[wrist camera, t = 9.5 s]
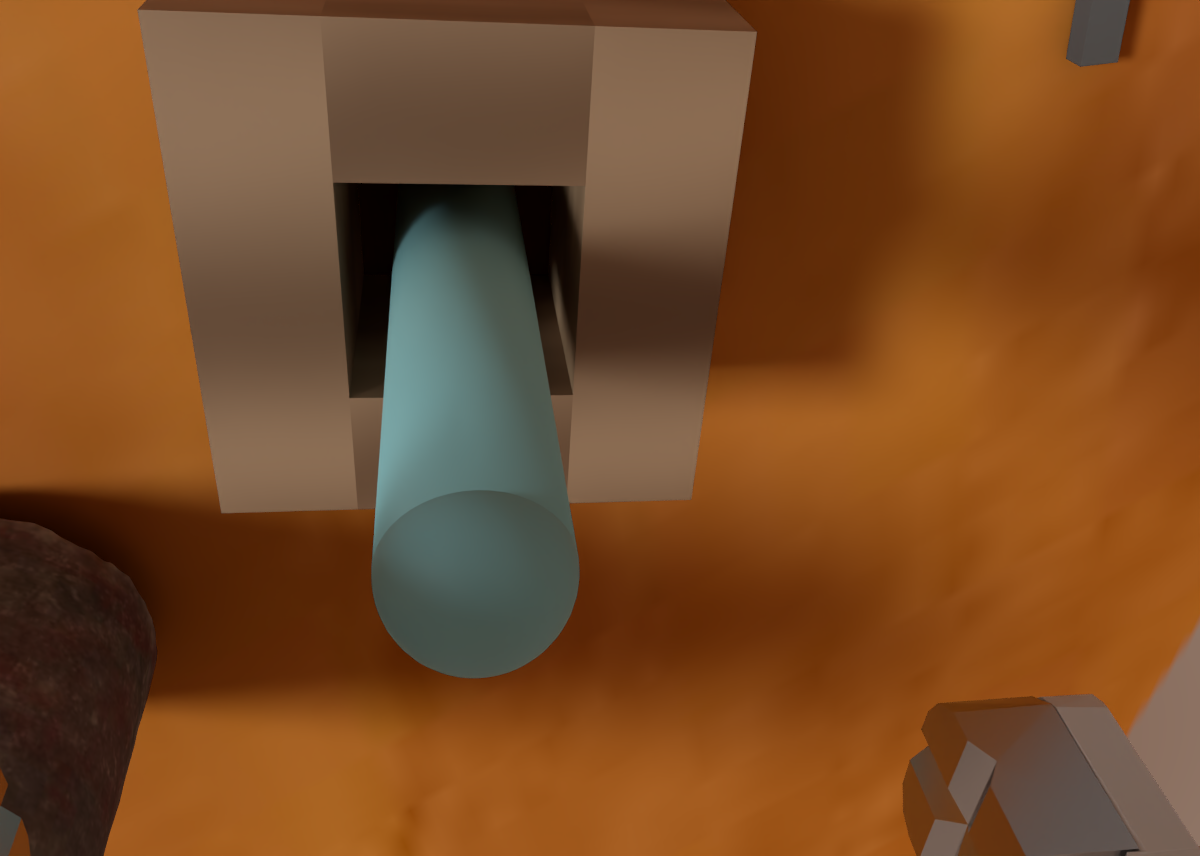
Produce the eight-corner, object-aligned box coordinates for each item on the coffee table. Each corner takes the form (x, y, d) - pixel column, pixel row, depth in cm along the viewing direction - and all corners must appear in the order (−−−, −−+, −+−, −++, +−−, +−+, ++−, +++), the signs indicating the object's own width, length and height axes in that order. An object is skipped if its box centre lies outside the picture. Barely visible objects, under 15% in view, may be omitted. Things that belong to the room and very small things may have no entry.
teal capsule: (396, 131, 21) (359, 565, 11) (515, 134, 22) (598, 557, 11) (400, 242, 23) (371, 729, 12) (513, 242, 23) (585, 717, 12)
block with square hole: (200, -57, 19) (137, 9, 15) (691, -34, 20) (756, 32, 16) (256, 375, 24) (221, 513, 20) (649, 371, 25) (691, 499, 21)
